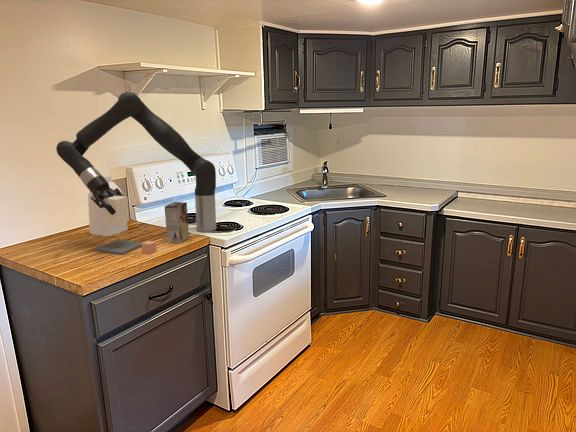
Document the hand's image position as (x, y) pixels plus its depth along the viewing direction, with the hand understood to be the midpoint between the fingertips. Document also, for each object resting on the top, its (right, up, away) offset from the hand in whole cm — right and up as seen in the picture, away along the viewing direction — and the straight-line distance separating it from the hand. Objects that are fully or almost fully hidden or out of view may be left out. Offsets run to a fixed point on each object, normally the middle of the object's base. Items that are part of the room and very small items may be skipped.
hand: (120, 211), depth 179 cm
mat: (-2, -15, +4) cm, 16 cm away
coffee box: (+20, -12, +16) cm, 28 cm away
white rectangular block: (-2, -4, +2) cm, 5 cm away
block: (+12, -16, 0) cm, 20 cm away
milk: (-16, -9, +28) cm, 33 cm away
